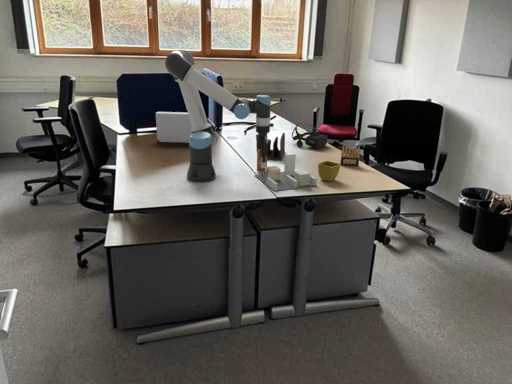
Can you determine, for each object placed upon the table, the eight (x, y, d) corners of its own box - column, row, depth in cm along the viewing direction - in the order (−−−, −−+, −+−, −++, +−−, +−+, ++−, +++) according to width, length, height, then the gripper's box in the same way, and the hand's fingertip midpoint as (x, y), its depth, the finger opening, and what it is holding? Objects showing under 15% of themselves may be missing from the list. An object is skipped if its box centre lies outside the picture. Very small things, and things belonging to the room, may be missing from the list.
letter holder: (284, 152, 275) (285, 131, 270) (281, 161, 256) (282, 138, 251) (269, 151, 276) (270, 130, 271) (264, 159, 258) (265, 137, 253)
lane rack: (254, 176, 229) (254, 168, 227) (293, 171, 238) (294, 164, 236) (274, 191, 207) (274, 184, 206) (316, 185, 216) (317, 178, 215)
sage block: (283, 175, 229) (284, 153, 225) (293, 173, 231) (294, 152, 227) (299, 186, 213) (300, 163, 209) (309, 184, 216) (311, 162, 211)
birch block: (255, 170, 235) (256, 149, 231) (265, 169, 237) (266, 148, 233) (269, 181, 219) (270, 158, 215) (280, 179, 222) (281, 157, 217)
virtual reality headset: (315, 153, 280) (319, 131, 274) (285, 143, 292) (288, 122, 286) (328, 147, 294) (332, 126, 288) (299, 138, 306) (303, 118, 300)
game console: (196, 143, 291) (195, 114, 284) (157, 142, 292) (155, 113, 285) (198, 141, 297) (197, 112, 290) (159, 140, 297) (157, 111, 290)
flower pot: (339, 180, 226) (341, 163, 222) (330, 183, 220) (332, 167, 216) (325, 176, 231) (326, 160, 228) (316, 179, 225) (317, 163, 222)
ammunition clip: (358, 165, 250) (360, 146, 246) (358, 166, 249) (360, 146, 244) (340, 164, 252) (342, 144, 248) (340, 165, 251) (341, 145, 246)
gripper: (275, 127, 221) (273, 170, 229) (263, 121, 234) (262, 162, 242) (262, 128, 218) (261, 171, 226) (250, 122, 231) (250, 163, 240)
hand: (261, 166), depth 234 cm, fingers closed on birch block, 2 cm apart
